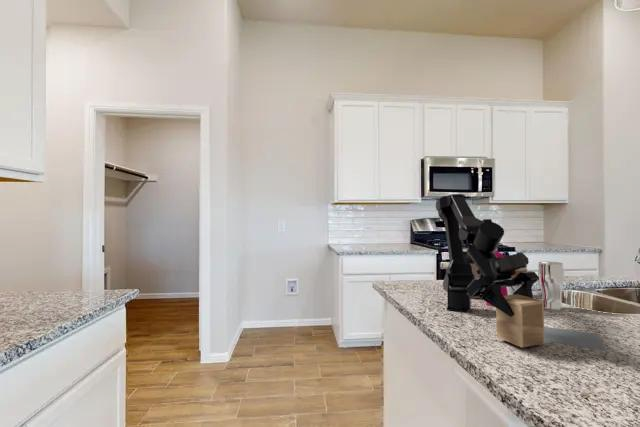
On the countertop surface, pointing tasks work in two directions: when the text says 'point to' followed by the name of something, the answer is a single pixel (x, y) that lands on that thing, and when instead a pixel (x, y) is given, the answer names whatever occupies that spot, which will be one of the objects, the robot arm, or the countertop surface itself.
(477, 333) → the countertop surface
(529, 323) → the cover box
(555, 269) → the white drink can
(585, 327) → the countertop surface
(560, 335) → the slate mat
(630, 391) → the countertop surface
